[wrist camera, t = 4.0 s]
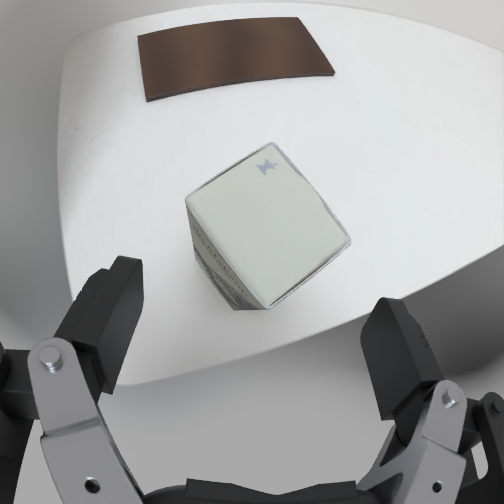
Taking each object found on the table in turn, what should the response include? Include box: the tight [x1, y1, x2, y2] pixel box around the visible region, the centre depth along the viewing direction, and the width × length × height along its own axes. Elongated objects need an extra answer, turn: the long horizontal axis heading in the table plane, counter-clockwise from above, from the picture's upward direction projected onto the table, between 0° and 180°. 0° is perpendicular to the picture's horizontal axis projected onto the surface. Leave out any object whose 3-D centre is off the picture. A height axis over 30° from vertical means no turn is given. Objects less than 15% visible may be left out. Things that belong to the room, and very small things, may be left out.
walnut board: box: [138, 17, 335, 102], centre depth 27 cm, size 20×11×1 cm, turn 107°
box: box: [185, 142, 351, 310], centre depth 17 cm, size 5×4×13 cm
